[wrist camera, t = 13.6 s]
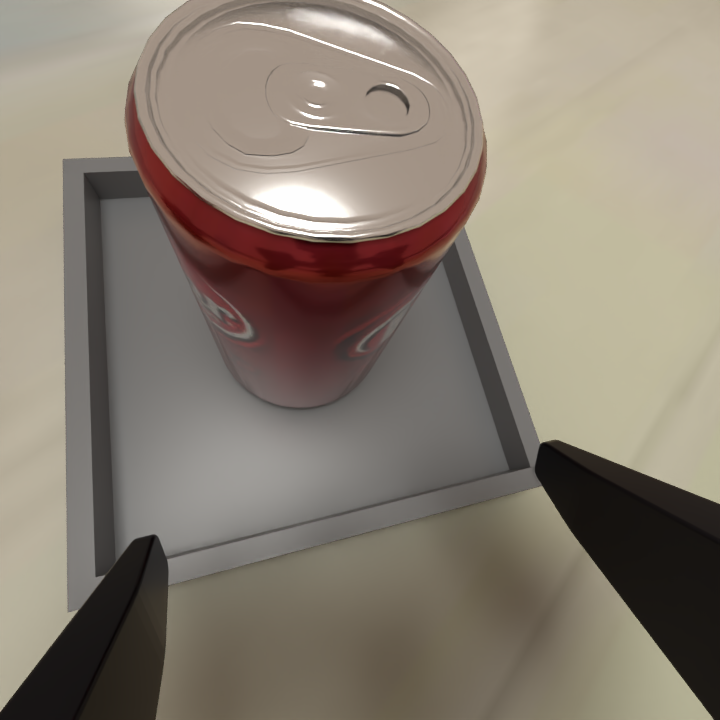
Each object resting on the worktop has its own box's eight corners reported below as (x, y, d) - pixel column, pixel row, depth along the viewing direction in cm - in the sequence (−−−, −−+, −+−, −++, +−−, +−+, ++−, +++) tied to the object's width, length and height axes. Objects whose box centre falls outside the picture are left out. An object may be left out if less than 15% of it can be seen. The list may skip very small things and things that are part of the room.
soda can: (209, 407, 17) (61, 230, 6) (229, 259, 19) (152, -67, 8) (377, 415, 18) (523, 279, 7) (376, 274, 21) (484, 7, 9)
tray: (521, 484, 19) (553, 482, 17) (101, 594, 15) (67, 612, 13) (421, 180, 24) (435, 146, 22) (88, 198, 20) (62, 159, 18)
